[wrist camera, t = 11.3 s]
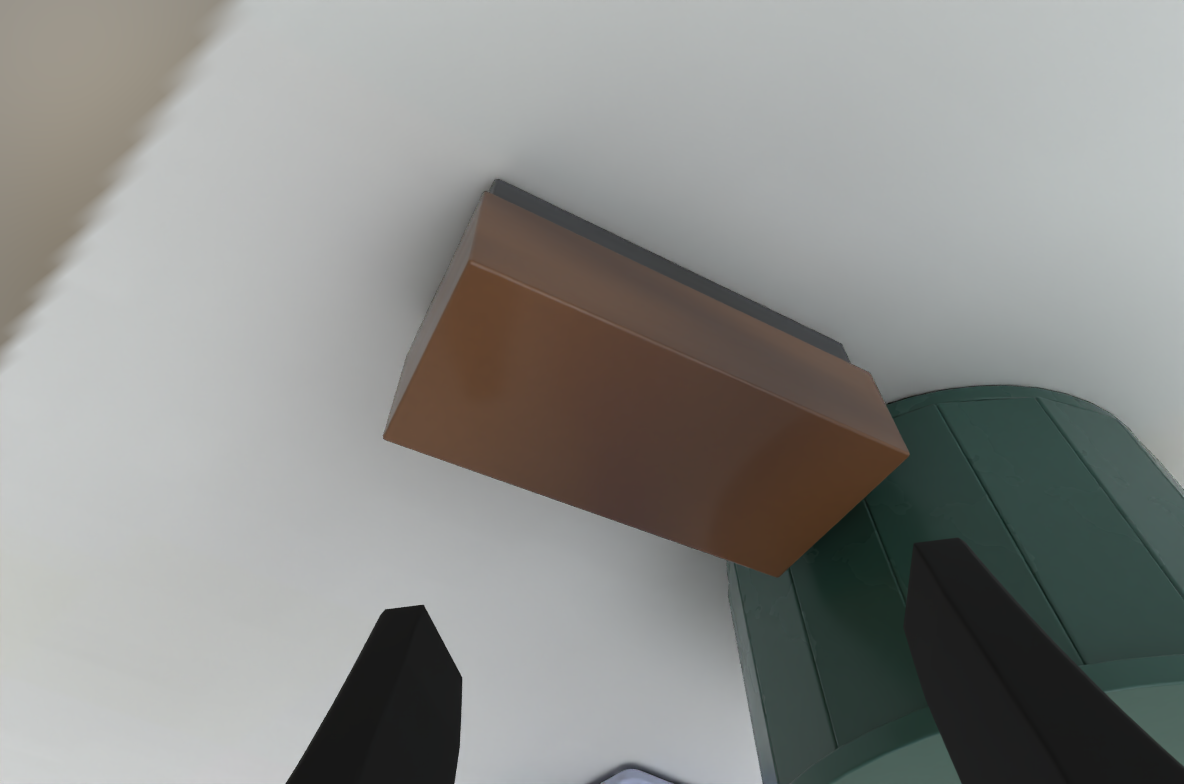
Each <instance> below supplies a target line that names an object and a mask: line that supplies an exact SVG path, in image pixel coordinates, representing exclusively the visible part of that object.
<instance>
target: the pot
mask: <svg viewBox="0 0 1184 784" xmlns="http://www.w3.org/2000/svg"><path fill="white" fill-rule="evenodd" d="M886 406H887V408H888V410H889V412H890V414H891V416H892V418H893V420H894V422H895V424H896V427H897V429H898V431H899V433H900V435H901V437H902V439H903V441H904V443H905V445H906V447H907V449H908V451H909V453H910V455H909V457H908V458H907V459H906V460H905V461H904V462H902V463H901V464H900V465H899V466H898V467H897V468H896V469H895V470H894V471H893V472H892V473H891V474H890V475H888V476H887V477H886V478H885V479H884V480H883V481H882V482H881V483H880V484H879V485H878V486H877V487H876V488H874V489H873V490H872V491H871V492H870V493H869V494H868V495H867V496H866V497H865V498H864V499H863V500H862V501H860V502H859V503H858V504H857V505H856V506H855V507H854V508H853V509H852V510H851V511H850V512H849V513H848V514H846V515H845V516H844V517H843V518H842V519H841V520H840V521H839V522H838V523H837V524H836V525H835V526H833V527H832V528H831V529H830V530H829V531H828V532H827V533H826V534H825V535H824V536H823V537H822V538H821V539H819V540H818V541H817V542H816V543H815V544H814V545H813V546H812V547H811V548H810V549H809V550H808V551H807V552H805V553H804V554H803V555H802V556H801V557H800V558H799V559H798V560H797V561H796V562H795V563H794V564H793V565H791V566H790V567H789V568H788V569H787V570H786V571H785V572H784V573H783V574H782V575H781V576H780V577H777V578H776V577H773V576H771V575H768V574H765V573H762V572H759V571H756V570H753V569H751V568H748V567H745V566H742V565H739V564H736V563H734V562H731V561H728V560H727V575H728V580H729V590H728V597H729V603H730V608H731V614H732V619H733V625H734V630H735V635H736V641H737V646H738V652H739V657H740V663H741V668H742V673H743V679H744V684H745V690H746V695H747V701H748V706H749V712H750V717H751V722H752V728H753V733H754V739H755V744H756V750H757V755H758V760H759V766H760V771H761V777H762V782H763V784H790V783H791V782H792V781H794V780H795V779H796V778H797V777H798V776H800V775H801V774H802V773H803V772H804V771H806V770H807V769H808V768H809V767H810V766H812V765H813V764H815V763H816V762H818V761H819V760H821V759H822V758H824V757H825V756H827V755H828V754H830V753H831V752H833V751H834V750H836V749H837V748H839V747H841V746H843V745H844V744H846V743H848V742H850V741H852V740H854V739H856V738H858V737H859V736H861V735H863V734H865V733H867V732H869V731H871V730H873V729H875V728H877V727H879V726H881V725H884V724H886V723H888V722H890V721H893V720H895V719H897V718H900V717H902V716H904V715H907V714H909V713H911V712H913V711H916V710H918V709H921V708H924V707H927V706H928V704H927V701H926V699H925V696H924V693H923V690H922V687H921V684H920V681H919V677H918V674H917V671H916V668H915V665H914V661H913V658H912V655H911V651H910V648H909V645H908V641H907V638H906V635H905V631H904V628H903V625H904V617H905V609H906V601H907V593H908V585H909V577H910V568H911V560H912V552H913V544H914V543H918V542H926V541H934V540H941V539H949V538H957V537H958V538H960V539H962V540H963V541H965V542H966V543H967V545H968V546H969V547H970V548H971V549H972V551H973V552H974V553H975V554H976V555H977V557H978V558H979V559H980V560H981V561H982V562H983V564H984V565H985V566H986V567H987V568H988V569H989V571H990V572H991V573H992V574H993V575H994V576H995V578H996V579H997V580H998V581H999V582H1000V583H1001V584H1002V585H1003V587H1004V588H1005V589H1006V590H1007V591H1008V592H1009V593H1010V594H1011V596H1012V597H1013V598H1014V599H1015V600H1016V601H1017V602H1018V603H1019V604H1020V605H1021V607H1022V608H1023V609H1024V610H1025V611H1026V612H1027V613H1028V614H1029V615H1030V616H1031V617H1032V619H1033V620H1034V621H1035V622H1036V623H1037V624H1038V625H1039V626H1040V627H1041V628H1042V629H1043V630H1044V631H1045V633H1046V634H1047V635H1048V636H1049V637H1050V638H1051V639H1052V640H1053V641H1054V642H1055V643H1056V644H1057V645H1058V646H1059V647H1060V648H1061V649H1062V650H1063V651H1064V652H1065V653H1066V654H1067V655H1068V656H1069V657H1070V658H1071V659H1072V660H1073V661H1074V662H1075V663H1076V664H1077V665H1078V666H1081V665H1088V664H1094V663H1101V662H1107V661H1114V660H1120V659H1129V658H1140V657H1151V656H1162V655H1173V654H1184V489H1183V488H1182V487H1181V486H1180V485H1179V483H1178V482H1177V481H1176V480H1175V479H1174V478H1173V476H1172V475H1171V474H1170V473H1169V472H1168V470H1167V469H1166V468H1165V467H1164V466H1163V465H1162V463H1161V462H1160V461H1159V460H1158V459H1157V458H1156V457H1155V456H1154V455H1153V454H1152V453H1151V452H1150V451H1149V450H1148V449H1147V448H1146V447H1145V446H1144V445H1143V444H1142V443H1141V442H1140V441H1139V440H1138V439H1137V437H1136V436H1135V435H1134V434H1133V433H1132V431H1131V430H1130V429H1129V428H1128V427H1127V426H1126V425H1124V424H1123V423H1122V422H1121V421H1120V420H1118V419H1117V418H1116V417H1115V416H1113V415H1112V414H1111V413H1109V412H1107V411H1105V410H1103V409H1101V408H1100V407H1098V406H1096V405H1094V404H1092V403H1090V402H1088V401H1085V400H1082V399H1079V398H1076V397H1074V396H1071V395H1068V394H1065V393H1060V392H1055V391H1050V390H1046V389H1041V388H1033V387H1021V386H1010V385H1002V386H973V387H964V388H956V389H948V390H942V391H937V392H932V393H928V394H923V395H918V396H914V397H910V398H907V399H903V400H900V401H897V402H894V403H891V404H887V405H886Z"/></svg>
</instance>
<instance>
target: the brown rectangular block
mask: <svg viewBox="0 0 1184 784" xmlns="http://www.w3.org/2000/svg"><path fill="white" fill-rule="evenodd" d="M383 439H384V440H386V441H389V442H392V443H395V444H398V445H400V446H403V447H406V448H409V449H412V450H415V451H418V452H420V453H423V454H426V455H429V456H432V457H435V458H437V459H440V460H443V461H446V462H449V463H452V464H455V465H457V466H460V467H463V468H466V469H469V470H472V471H474V472H477V473H480V474H483V475H486V476H489V477H492V478H494V479H497V480H500V481H503V482H506V483H509V484H512V485H514V486H517V487H520V488H523V489H526V490H529V491H531V492H534V493H537V494H540V495H543V496H546V497H549V498H551V499H554V500H557V501H560V502H563V503H566V504H568V505H571V506H574V507H577V508H580V509H583V510H586V511H588V512H591V513H594V514H597V515H600V516H603V517H605V518H608V519H611V520H614V521H617V522H620V523H623V524H625V525H628V526H631V527H634V528H637V529H640V530H642V531H645V532H648V533H651V534H654V535H657V536H660V537H662V538H665V539H668V540H671V541H674V542H677V543H679V544H682V545H685V546H688V547H691V548H694V549H697V550H699V551H702V552H705V553H708V554H711V555H714V556H716V557H719V558H722V559H725V560H728V561H731V562H734V563H736V564H739V565H742V566H745V567H748V568H751V569H753V570H756V571H759V572H762V573H765V574H768V575H771V576H773V577H776V578H777V577H780V576H781V575H782V574H783V573H784V572H785V571H786V570H787V569H788V568H789V567H790V566H791V565H793V564H794V563H795V562H796V561H797V560H798V559H799V558H800V557H801V556H802V555H803V554H804V553H805V552H807V551H808V550H809V549H810V548H811V547H812V546H813V545H814V544H815V543H816V542H817V541H818V540H819V539H821V538H822V537H823V536H824V535H825V534H826V533H827V532H828V531H829V530H830V529H831V528H832V527H833V526H835V525H836V524H837V523H838V522H839V521H840V520H841V519H842V518H843V517H844V516H845V515H846V514H848V513H849V512H850V511H851V510H852V509H853V508H854V507H855V506H856V505H857V504H858V503H859V502H860V501H862V500H863V499H864V498H865V497H866V496H867V495H868V494H869V493H870V492H871V491H872V490H873V489H874V488H876V487H877V486H878V485H879V484H880V483H881V482H882V481H883V480H884V479H885V478H886V477H887V476H888V475H890V474H891V473H892V472H893V471H894V470H895V469H896V468H897V467H898V466H899V465H900V464H901V463H902V462H904V461H905V460H906V459H907V458H908V457H909V455H910V453H909V451H908V449H907V447H906V445H905V443H904V441H903V439H902V437H901V435H900V433H899V431H898V429H897V427H896V424H895V422H894V420H893V418H892V416H891V414H890V412H889V410H888V408H887V406H886V404H885V402H884V400H883V398H882V396H881V394H880V392H879V390H878V388H877V386H876V384H875V382H874V380H873V378H872V376H871V374H870V373H869V372H867V371H865V370H863V369H861V368H859V367H857V366H855V365H852V364H851V363H850V361H849V359H848V356H847V354H846V352H845V350H844V348H843V346H842V344H841V343H839V342H836V341H834V340H832V339H830V338H828V337H826V336H824V335H822V334H820V333H818V332H816V331H814V330H812V329H809V328H807V327H805V326H803V325H801V324H799V323H797V322H795V321H793V320H791V319H789V318H787V317H785V316H783V315H780V314H778V313H776V312H774V311H772V310H770V309H768V308H766V307H764V306H762V305H760V304H758V303H756V302H753V301H751V300H749V299H747V298H745V297H743V296H741V295H739V294H737V293H735V292H733V291H731V290H729V289H726V288H724V287H722V286H720V285H718V284H716V283H714V282H712V281H710V280H708V279H706V278H704V277H702V276H699V275H697V274H695V273H693V272H691V271H689V270H687V269H685V268H683V267H681V266H679V265H677V264H675V263H672V262H670V261H668V260H666V259H664V258H662V257H660V256H658V255H656V254H654V253H652V252H650V251H648V250H645V249H643V248H641V247H639V246H637V245H635V244H633V243H631V242H629V241H627V240H625V239H623V238H621V237H618V236H616V235H614V234H612V233H610V232H608V231H606V230H604V229H602V228H600V227H598V226H596V225H594V224H591V223H589V222H587V221H585V220H583V219H581V218H579V217H577V216H575V215H573V214H571V213H569V212H567V211H564V210H562V209H560V208H558V207H556V206H554V205H552V204H550V203H548V202H546V201H544V200H542V199H540V198H537V197H535V196H533V195H531V194H529V193H527V192H525V191H523V190H521V189H519V188H517V187H515V186H513V185H510V184H508V183H506V182H504V181H502V180H500V179H495V180H494V182H493V184H492V186H491V188H490V190H489V192H487V191H485V192H484V193H483V194H482V196H481V198H480V200H479V202H478V205H477V207H476V209H475V211H474V213H473V215H472V217H471V219H470V222H469V224H468V226H467V228H466V230H465V232H464V234H463V237H462V239H461V241H460V243H459V245H458V247H457V249H456V251H455V254H454V256H453V258H452V260H451V262H450V264H449V266H448V269H447V271H446V273H445V275H444V277H443V279H442V281H441V283H440V286H439V288H438V290H437V292H436V294H435V296H434V298H433V301H432V303H431V305H430V307H429V309H428V311H427V313H426V315H425V318H424V320H423V322H422V324H421V326H420V328H419V330H418V332H417V335H416V337H415V339H414V341H413V343H412V345H411V347H410V350H409V352H408V354H407V356H406V359H405V363H404V366H403V369H402V373H401V376H400V379H399V383H398V386H397V390H396V393H395V396H394V400H393V403H392V407H391V410H390V413H389V417H388V420H387V423H386V427H385V430H384V434H383Z"/></svg>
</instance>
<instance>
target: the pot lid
mask: <svg viewBox="0 0 1184 784" xmlns="http://www.w3.org/2000/svg"><path fill="white" fill-rule="evenodd" d="M1079 667H1080V668H1081V669H1082V670H1083V671H1084V672H1085V674H1086V675H1087V676H1088V677H1089V678H1090V679H1091V680H1092V681H1093V682H1094V683H1095V684H1096V685H1097V686H1098V687H1099V688H1100V689H1101V690H1102V691H1103V692H1104V693H1106V694H1107V695H1108V696H1109V697H1110V698H1111V699H1112V700H1113V701H1114V702H1115V703H1116V704H1117V705H1118V706H1119V707H1120V708H1121V709H1122V710H1123V711H1124V712H1125V713H1126V714H1127V715H1128V716H1129V717H1131V718H1132V719H1133V720H1134V721H1135V722H1136V723H1137V724H1138V725H1139V726H1140V727H1141V728H1142V729H1143V730H1144V731H1146V732H1147V733H1148V734H1149V735H1150V736H1151V737H1152V738H1153V739H1154V740H1155V741H1156V742H1157V743H1158V744H1160V745H1161V746H1162V747H1163V748H1164V749H1165V750H1166V751H1167V752H1168V753H1169V754H1171V755H1172V756H1173V757H1174V758H1175V759H1176V760H1177V761H1178V762H1179V763H1181V764H1182V765H1183V766H1184V654H1173V655H1162V656H1151V657H1140V658H1129V659H1120V660H1114V661H1107V662H1101V663H1094V664H1088V665H1081V666H1079ZM790 784H962V783H961V781H960V779H959V776H958V774H957V772H956V770H955V767H954V765H953V763H952V760H951V758H950V756H949V753H948V751H947V749H946V746H945V744H944V742H943V739H942V737H941V735H940V732H939V730H938V728H937V725H936V723H935V720H934V718H933V716H932V713H931V711H930V709H929V706H927V707H924V708H921V709H918V710H916V711H913V712H911V713H909V714H907V715H904V716H902V717H900V718H897V719H895V720H893V721H890V722H888V723H886V724H884V725H881V726H879V727H877V728H875V729H873V730H871V731H869V732H867V733H865V734H863V735H861V736H859V737H858V738H856V739H854V740H852V741H850V742H848V743H846V744H844V745H843V746H841V747H839V748H837V749H836V750H834V751H833V752H831V753H830V754H828V755H827V756H825V757H824V758H822V759H821V760H819V761H818V762H816V763H815V764H813V765H812V766H810V767H809V768H808V769H807V770H806V771H804V772H803V773H802V774H801V775H800V776H798V777H797V778H796V779H795V780H794V781H792V782H791V783H790Z"/></svg>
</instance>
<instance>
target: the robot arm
mask: <svg viewBox="0 0 1184 784" xmlns="http://www.w3.org/2000/svg"><path fill="white" fill-rule="evenodd" d="M903 628H904V631H905V635H906V638H907V641H908V645H909V648H910V651H911V655H912V658H913V661H914V665H915V668H916V671H917V674H918V677H919V681H920V684H921V687H922V690H923V693H924V696H925V699H926V701H927V704H928V706H929V709H930V711H931V713H932V716H933V718H934V720H935V723H936V725H937V728H938V730H939V732H940V735H941V737H942V739H943V742H944V744H945V746H946V749H947V751H948V753H949V756H950V758H951V760H952V763H953V765H954V767H955V770H956V772H957V774H958V776H959V779H960V781H961V783H962V784H1184V766H1183V765H1182V764H1181V763H1179V762H1178V761H1177V760H1176V759H1175V758H1174V757H1173V756H1172V755H1171V754H1169V753H1168V752H1167V751H1166V750H1165V749H1164V748H1163V747H1162V746H1161V745H1160V744H1158V743H1157V742H1156V741H1155V740H1154V739H1153V738H1152V737H1151V736H1150V735H1149V734H1148V733H1147V732H1146V731H1144V730H1143V729H1142V728H1141V727H1140V726H1139V725H1138V724H1137V723H1136V722H1135V721H1134V720H1133V719H1132V718H1131V717H1129V716H1128V715H1127V714H1126V713H1125V712H1124V711H1123V710H1122V709H1121V708H1120V707H1119V706H1118V705H1117V704H1116V703H1115V702H1114V701H1113V700H1112V699H1111V698H1110V697H1109V696H1108V695H1107V694H1106V693H1104V692H1103V691H1102V690H1101V689H1100V688H1099V687H1098V686H1097V685H1096V684H1095V683H1094V682H1093V681H1092V680H1091V679H1090V678H1089V677H1088V676H1087V675H1086V674H1085V672H1084V671H1083V670H1082V669H1081V668H1080V667H1079V666H1078V665H1077V664H1076V663H1075V662H1074V661H1073V660H1072V659H1071V658H1070V657H1069V656H1068V655H1067V654H1066V653H1065V652H1064V651H1063V650H1062V649H1061V648H1060V647H1059V646H1058V645H1057V644H1056V643H1055V642H1054V641H1053V640H1052V639H1051V638H1050V637H1049V636H1048V635H1047V634H1046V633H1045V631H1044V630H1043V629H1042V628H1041V627H1040V626H1039V625H1038V624H1037V623H1036V622H1035V621H1034V620H1033V619H1032V617H1031V616H1030V615H1029V614H1028V613H1027V612H1026V611H1025V610H1024V609H1023V608H1022V607H1021V605H1020V604H1019V603H1018V602H1017V601H1016V600H1015V599H1014V598H1013V597H1012V596H1011V594H1010V593H1009V592H1008V591H1007V590H1006V589H1005V588H1004V587H1003V585H1002V584H1001V583H1000V582H999V581H998V580H997V579H996V578H995V576H994V575H993V574H992V573H991V572H990V571H989V569H988V568H987V567H986V566H985V565H984V564H983V562H982V561H981V560H980V559H979V558H978V557H977V555H976V554H975V553H974V552H973V551H972V549H971V548H970V547H969V546H968V545H967V543H966V542H965V541H963V540H962V539H960V538H958V537H957V538H949V539H941V540H934V541H926V542H918V543H914V544H913V552H912V560H911V568H910V577H909V585H908V593H907V601H906V609H905V617H904V625H903ZM461 706H462V676H461V674H460V673H459V671H458V669H457V667H456V665H455V663H454V661H453V659H452V657H451V656H450V654H449V652H448V650H447V648H446V646H445V644H444V642H443V640H442V639H441V637H440V635H439V633H438V631H437V629H436V627H435V625H434V624H433V622H432V620H431V618H430V616H429V614H428V612H427V610H426V608H425V607H424V605H417V606H409V607H401V608H393V609H385V610H384V611H383V613H382V614H381V615H380V617H379V619H378V621H377V623H376V625H375V626H374V628H373V630H372V632H371V634H370V636H369V638H368V640H367V642H366V643H365V645H364V647H363V649H362V651H361V653H360V655H359V657H358V659H357V660H356V662H355V664H354V666H353V668H352V670H351V672H350V673H349V675H348V677H347V679H346V681H345V683H344V684H343V686H342V688H341V690H340V692H339V693H338V695H337V697H336V699H335V701H334V703H333V704H332V706H331V708H330V710H329V711H328V713H327V715H326V717H325V718H324V720H323V722H322V723H321V725H320V727H319V729H318V730H317V732H316V734H315V736H314V737H313V739H312V741H311V742H310V744H309V746H308V748H307V749H306V751H305V753H304V755H303V756H302V758H301V760H300V761H299V763H298V765H297V766H296V768H295V769H294V771H293V773H292V774H291V776H290V777H289V779H288V781H287V782H286V784H454V782H455V776H456V769H457V762H458V755H459V748H460V730H461ZM600 784H673V783H670V782H668V781H665V780H663V779H660V778H658V777H655V776H653V775H650V774H648V773H645V772H643V771H640V770H637V769H626V770H624V771H622V772H620V773H618V774H616V775H614V776H613V777H611V778H609V779H607V780H605V781H604V782H602V783H600Z"/></svg>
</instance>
